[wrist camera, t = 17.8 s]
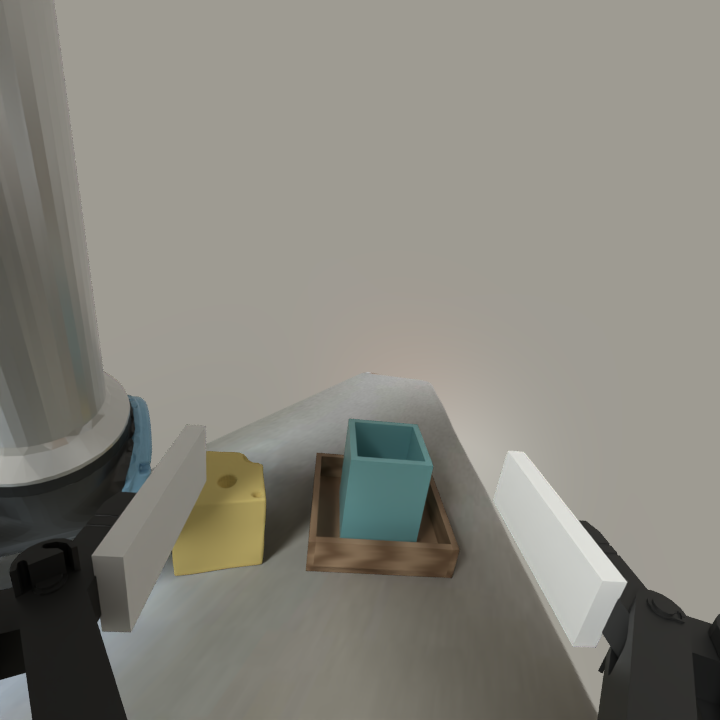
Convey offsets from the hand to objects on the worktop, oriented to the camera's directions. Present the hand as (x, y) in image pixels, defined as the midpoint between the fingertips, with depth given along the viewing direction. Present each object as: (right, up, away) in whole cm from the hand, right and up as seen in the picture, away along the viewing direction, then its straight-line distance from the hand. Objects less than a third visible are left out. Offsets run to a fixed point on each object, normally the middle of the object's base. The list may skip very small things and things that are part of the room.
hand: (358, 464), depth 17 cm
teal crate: (+2, -18, +39) cm, 42 cm away
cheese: (-18, -18, +32) cm, 41 cm away
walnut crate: (+2, -18, +39) cm, 43 cm away
